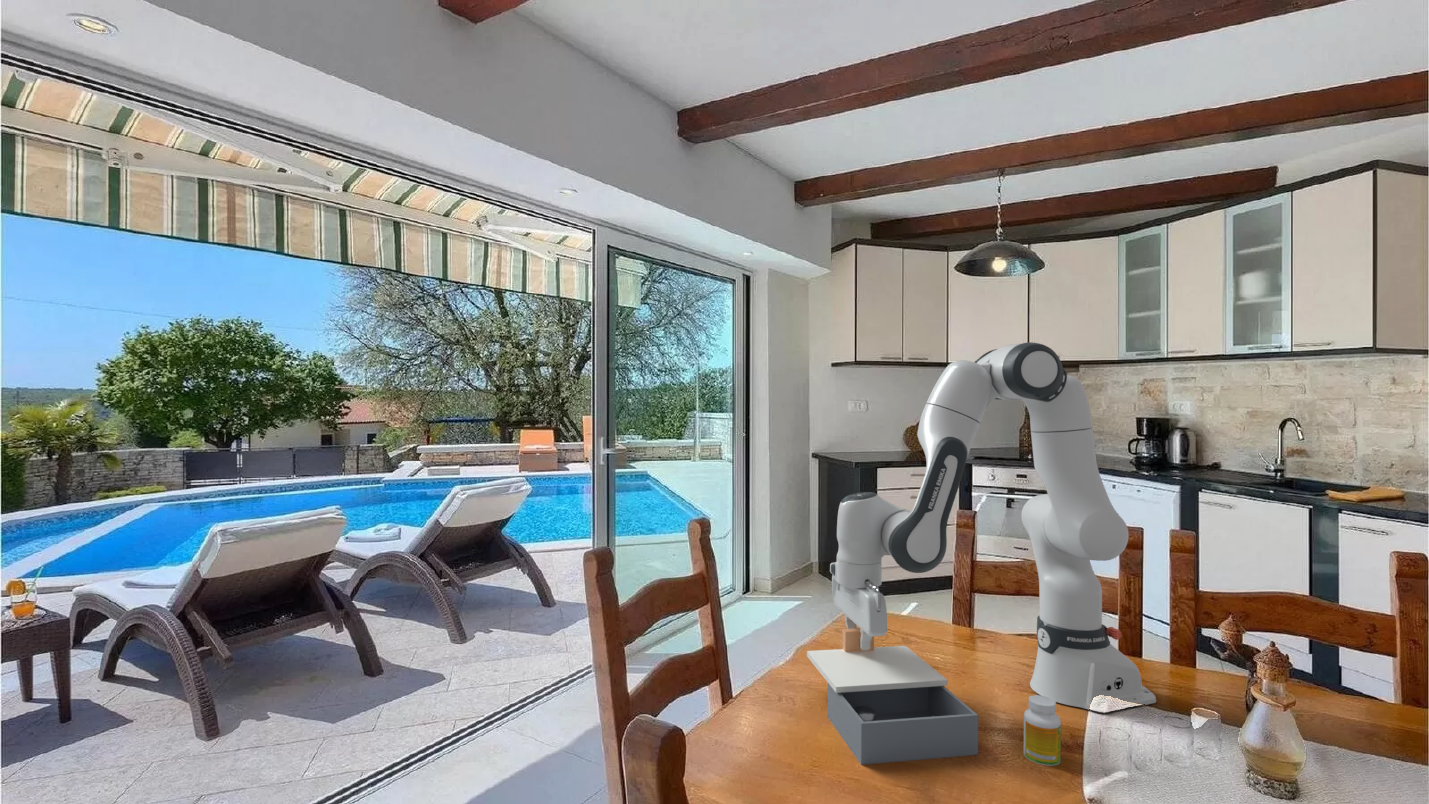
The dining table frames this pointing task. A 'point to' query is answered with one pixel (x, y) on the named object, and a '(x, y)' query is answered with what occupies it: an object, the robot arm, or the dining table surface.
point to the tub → (905, 724)
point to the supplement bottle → (1042, 731)
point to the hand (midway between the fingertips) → (858, 643)
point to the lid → (873, 667)
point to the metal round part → (865, 713)
